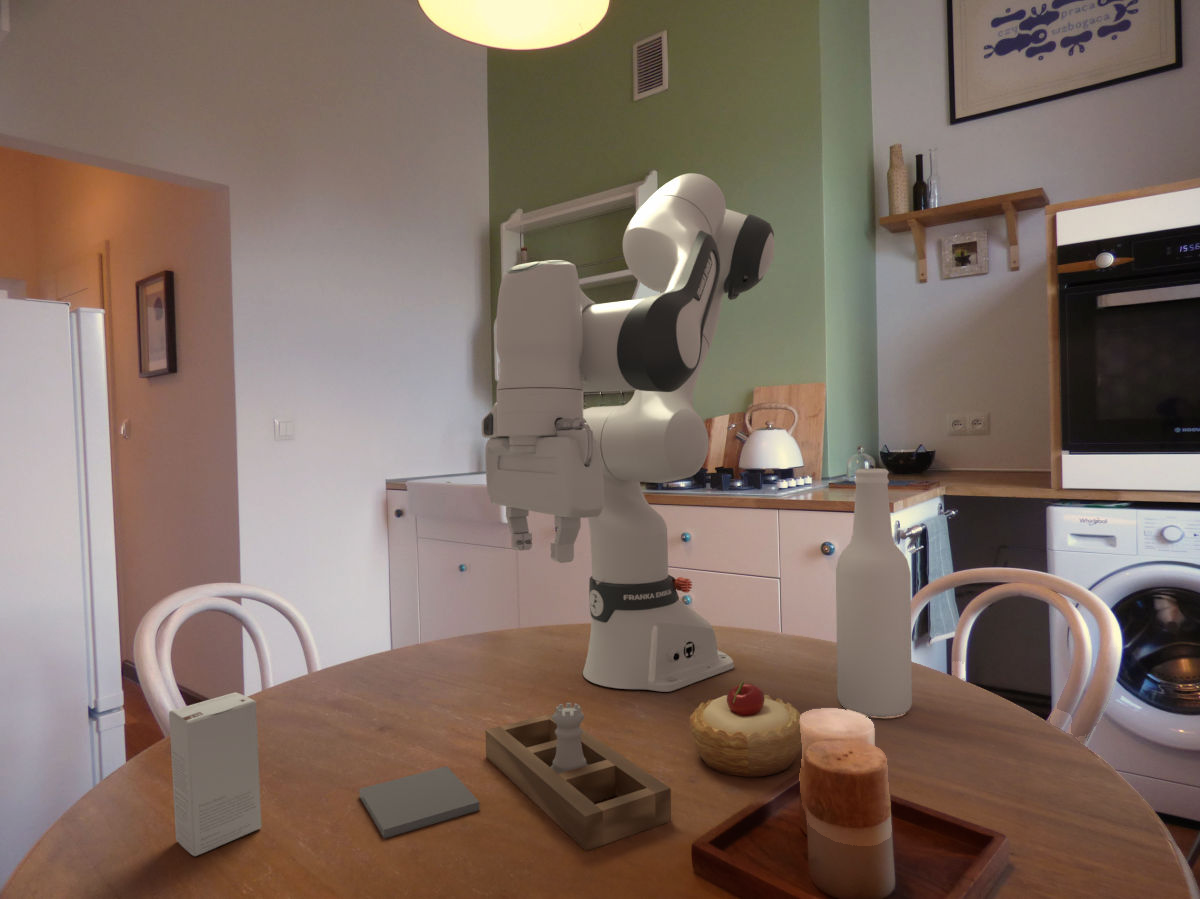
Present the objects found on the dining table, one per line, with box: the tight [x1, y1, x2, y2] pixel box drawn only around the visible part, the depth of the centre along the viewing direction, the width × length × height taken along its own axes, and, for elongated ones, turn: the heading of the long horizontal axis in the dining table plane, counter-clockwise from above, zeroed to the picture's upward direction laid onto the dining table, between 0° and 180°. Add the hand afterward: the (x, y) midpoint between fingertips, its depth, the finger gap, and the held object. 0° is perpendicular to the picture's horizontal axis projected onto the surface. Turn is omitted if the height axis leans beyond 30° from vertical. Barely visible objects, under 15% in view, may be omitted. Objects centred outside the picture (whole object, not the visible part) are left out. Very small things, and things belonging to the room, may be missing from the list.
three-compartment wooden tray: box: [484, 712, 672, 852], centre depth 76 cm, size 9×22×3 cm, turn 31°
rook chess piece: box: [550, 702, 588, 774], centre depth 76 cm, size 4×4×8 cm
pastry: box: [688, 680, 803, 778], centre depth 81 cm, size 12×12×9 cm
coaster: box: [358, 765, 481, 839], centre depth 73 cm, size 9×9×1 cm
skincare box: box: [168, 691, 262, 857], centre depth 67 cm, size 6×4×12 cm
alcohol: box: [835, 468, 913, 719], centre depth 94 cm, size 9×9×30 cm
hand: (540, 555), depth 77 cm, fingers open, 8 cm apart
